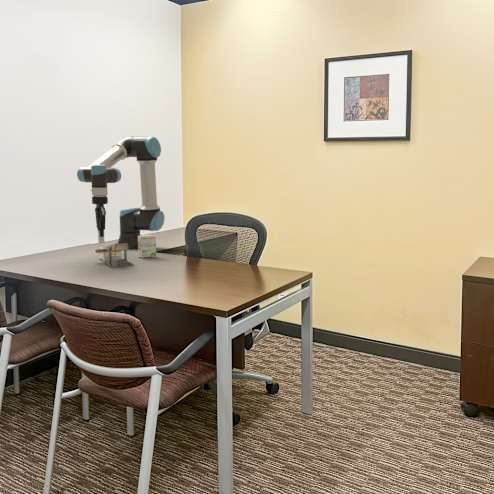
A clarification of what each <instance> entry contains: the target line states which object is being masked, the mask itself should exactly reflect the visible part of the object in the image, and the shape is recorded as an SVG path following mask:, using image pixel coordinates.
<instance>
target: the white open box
mask: <svg viewBox="0 0 494 494" xmlns="http://www.w3.org/2000/svg"><path fill="white" fill-rule="evenodd" d="M98 248H99V249H107V246H99V247H98ZM99 249H98V250H99ZM107 253H108V252H103V253H98V254H99V255H98V256H99V259H100V260H102V262H103V261H107V260H109V256H107ZM113 253H114V256H111V260H121V259H123V255H122V251H119V252H113Z"/></svg>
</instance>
